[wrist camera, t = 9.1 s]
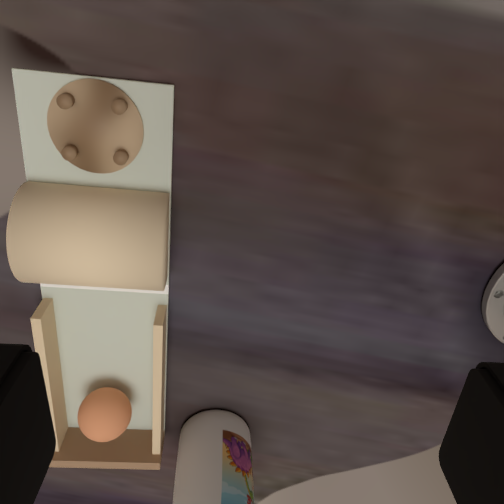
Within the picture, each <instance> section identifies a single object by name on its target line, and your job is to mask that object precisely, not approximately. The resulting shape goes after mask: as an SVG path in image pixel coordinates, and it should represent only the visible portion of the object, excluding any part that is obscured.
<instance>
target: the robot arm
mask: <svg viewBox="0 0 504 504" xmlns="http://www.w3.org/2000/svg"><path fill="white" fill-rule="evenodd" d="M482 315H483V319H484V322H485V324H486V326H487V327H488V329H489V330H490V331H491V332H492V334H493V335H494V336H495V337H496V338H497V339H498V340H499V341H500V342H502V343H504V263H503V264H502V265H501V266H500V267H499V269H498V270H497V271H496V272H495V274H494V275H493V277H492V278H491V279H490V281H489V283H488V285H487V287H486V289H485V292H484V296H483V300H482ZM55 447H56V437H55V432H54V427H53V422H52V417H51V412H50V407H49V401H48V396H47V391H46V386H45V381H44V376H43V371H42V366H41V360H40V356H39V354H38V353H37V352H32V350H31V347H30V346H29V345H23V344H0V504H33V503H34V501H35V498H36V496H37V494H38V491H39V489H40V487H41V484H42V482H43V480H44V477H45V475H46V473H47V470H48V468H49V466H50V463H51V461H52V459H53V456H54V452H55ZM439 461H440V466H441V468H442V471H443V473H444V475H445V477H446V480H447V482H448V484H449V486H450V489H451V491H452V493H453V495H454V498H455V500H456V502H457V504H504V363H493V362H481V363H479V364H478V365H477V367H476V369H471V370H470V372H469V374H468V376H467V379H466V382H465V384H464V387H463V389H462V392H461V395H460V397H459V400H458V403H457V405H456V408H455V410H454V413H453V416H452V418H451V421H450V424H449V426H448V429H447V431H446V434H445V437H444V439H443V442H442V444H441V447H440V450H439Z"/></svg>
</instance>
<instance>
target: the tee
mask: <svg viewBox="0 0 504 504" xmlns="http://www.w3.org/2000/svg"><path fill="white" fill-rule="evenodd" d="M47 126H48V131H49V134H50V137H51V140H52V142H53V144H54V145H55V147H56V149H57V150H58V151H59V153H60V154H61V155H62V157H63V158H64V159H65V160H67V161H69V162H70V163H72V164H73V165H74V166H76V167H78V168H80V169H83V170H85V171H88V172H92V173H102V174H105V173H112V172H116V171H118V170H121V169H123V168H125V167H126V166H127V165H129V164H130V163H131V162H132V161H133V160H134V159H135V157H136V156H137V155H138V153H139V151H140V149H141V146H142V143H143V137H144V128H143V122H142V118H141V115H140V113H139V111H138V108H137V107H136V105H135V104H134V102H133V101H132V100H131V98H130V97H129V96H128V95H127V94H126V93H125V92H123V91H122V90H121V89H120V88H118V87H116V86H115V85H113V84H111V83H109V82H106V81H103V80H99V79H89V78H87V79H79V80H75V81H73V82H70V83H68V84H67V85H65V86H63V87H62V88H61V89H60V90H58V92H57V93H56V94H55V95H54V97H53V98H52V100H51V102H50V105H49V108H48V112H47Z"/></svg>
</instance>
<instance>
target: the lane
mask: <svg viewBox="0 0 504 504" xmlns="http://www.w3.org/2000/svg"><path fill="white" fill-rule="evenodd" d="M12 75H13V83H14V90H15V98H16V106H17V113H18V120H19V127H20V136H21V143H22V150H23V158H24V166H25V173H26V180H27V182H25V183H23V184H22V185H21V186H20V188H19V189H18V191H17V192H16V194H15V196H14V198H13V201H12V204H11V207H10V211H9V216H8V222H7V233H6V245H7V255H8V260H9V264H10V268H11V270H12V273H13V274H14V276H15V277H16V279H17V280H19V281H20V282H26V283H40V285H41V293H42V301H41V302H40V304H39V306H38V307H37V309H36V310H35V312H34V314H33V315H32V317H31V318H30V319H31V325H32V332H33V339H34V345H35V352H37V353H38V354H39V356H40V360H41V366H42V371H43V376H44V381H45V386H46V391H47V396H48V401H49V407H50V412H51V417H52V422H53V427H54V432H55V437H56V447H55V452H54V456H53V459H52V461H51V463H50V466H49V467H67V468H109V469H151V470H160V465H161V458H162V451H163V444H164V437H165V413H166V375H167V338H168V300H169V263H170V226H171V188H172V151H173V113H174V85H171V84H162V83H152V82H143V81H134V80H124V79H115V78H106V77H96V76H87V75H78V74H68V73H59V72H50V71H40V70H31V69H21V68H12ZM87 78H89V79H99V80H103V81H106V82H109V83H111V84H113V85H115V86H116V87H118V88H120V89H121V90H122V91H123V92H125V93H126V94H127V95H128V96H129V97H130V98H131V100H132V101H133V102H134V104H135V105H136V107H137V108H138V111H139V113H140V115H141V118H142V122H143V128H144V137H143V143H142V146H141V149H140V151H139V153H138V155H137V156H136V157H135V159H134V160H133V161H132V162H131V163H130V164H129V165H127V166H126V167H125V168H123V169H121V170H118V171H116V172H112V173H105V174H102V173H92V172H88V171H85V170H83V169H80V168H78V167H76V166H74V165H73V164H72V163H70V162H69V161H67V160H65V159H64V158H63V157H62V155H61V154H60V153H59V151H58V150H57V149H56V147H55V145H54V144H53V142H52V140H51V137H50V134H49V131H48V126H47V112H48V108H49V105H50V102H51V100H52V98H53V97H54V95H55V94H56V93H57V92H58V90H60V89H61V88H62V87H63V86H65V85H67V84H68V83H70V82H73V81H75V80H79V79H87ZM103 387H112V388H116V389H118V390H120V391H122V392H123V393H124V394H125V395H126V396H127V397H128V399H129V401H130V404H131V408H132V416H131V420H130V423H129V425H128V427H127V429H126V430H125V431H124V432H123V433H122V434H121V435H120V436H119V437H117V438H116V439H114V440H111V441H108V442H96V441H93V440H91V439H89V438H87V437H86V436H85V435H84V434H83V433H82V431H81V430H80V428H79V425H78V418H77V416H78V410H79V407H80V405H81V403H82V401H83V400H84V399H85V397H86V396H87V395H88V394H90V393H91V392H92V391H94V390H96V389H99V388H103Z"/></svg>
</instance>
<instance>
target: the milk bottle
mask: <svg viewBox="0 0 504 504" xmlns="http://www.w3.org/2000/svg"><path fill="white" fill-rule="evenodd" d="M173 504H254V489H253V471H252V453H251V439H250V431H249V428H248V426H247V424H246V423H245V421H244V420H243V419H242V418H241V417H239V416H238V415H236V414H234V413H232V412H228V411H225V410H208V411H203V412H200V413H198V414H196V415H193V416H192V417H191V418H189V419H188V421H187V422H186V423H185V424H184V426H183V427H182V429H181V432H180V439H179V446H178V456H177V465H176V474H175V484H174V494H173Z"/></svg>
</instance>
